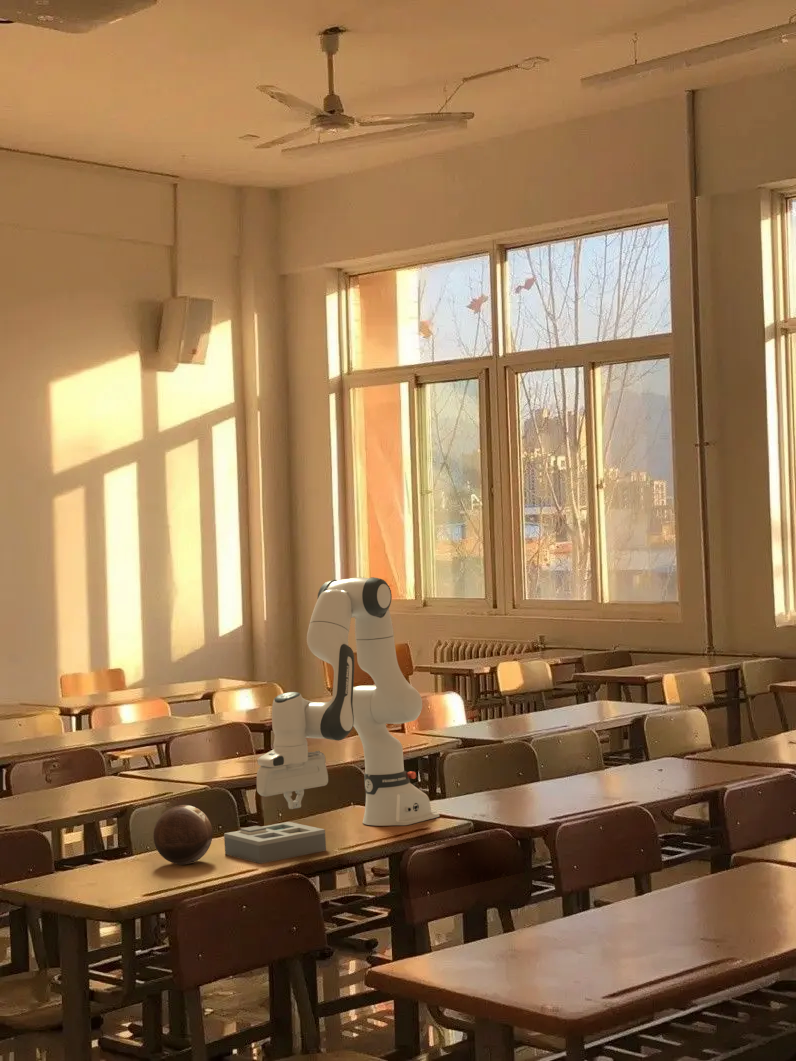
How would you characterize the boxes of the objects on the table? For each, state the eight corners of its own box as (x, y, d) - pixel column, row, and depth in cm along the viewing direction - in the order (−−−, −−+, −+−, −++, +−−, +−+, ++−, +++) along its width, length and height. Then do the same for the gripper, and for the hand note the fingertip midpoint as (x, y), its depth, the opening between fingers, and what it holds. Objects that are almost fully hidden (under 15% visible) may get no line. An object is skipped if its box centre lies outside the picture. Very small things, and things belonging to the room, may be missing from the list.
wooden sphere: (210, 868, 377) (207, 808, 378) (150, 871, 377) (147, 812, 378) (217, 856, 392) (213, 798, 393) (159, 859, 392) (156, 802, 392)
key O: (257, 836, 397) (256, 825, 397) (266, 839, 393) (266, 827, 393) (240, 840, 394) (240, 828, 394) (250, 842, 390) (249, 830, 390)
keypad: (289, 841, 406) (288, 821, 406) (326, 850, 391) (324, 829, 391) (225, 854, 394) (224, 833, 394) (260, 863, 380) (258, 841, 380)
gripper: (318, 748, 401) (321, 800, 401) (251, 759, 389) (255, 813, 389) (330, 750, 396) (334, 802, 396) (264, 761, 384) (268, 815, 384)
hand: (294, 808), depth 392 cm, fingers closed
